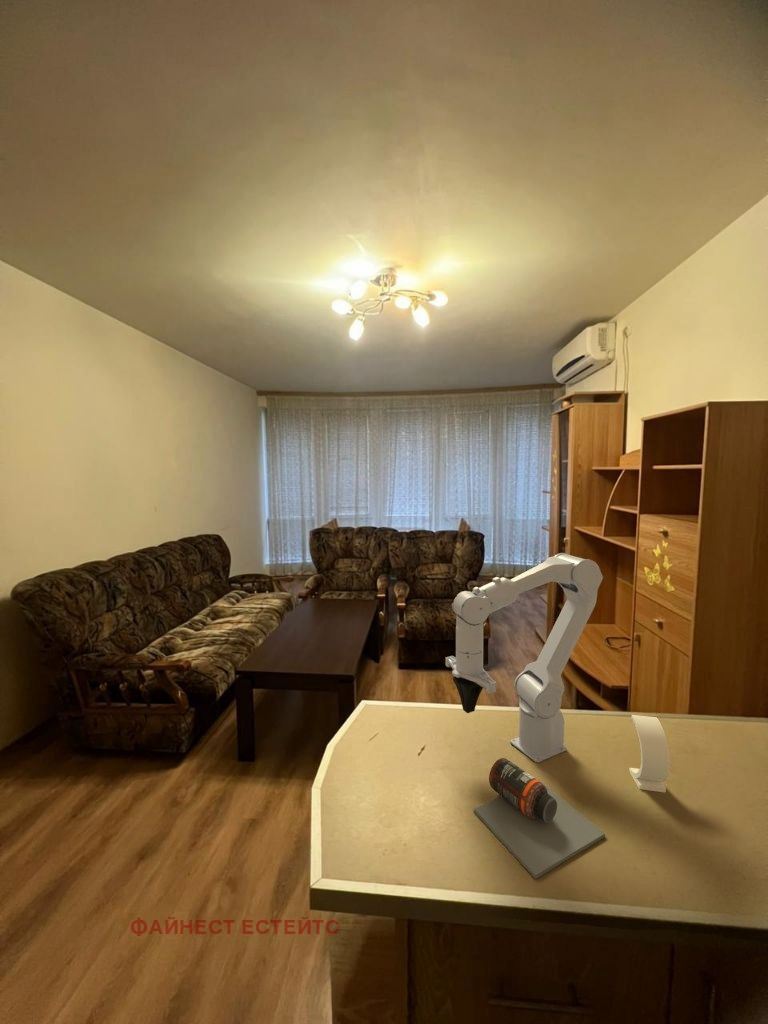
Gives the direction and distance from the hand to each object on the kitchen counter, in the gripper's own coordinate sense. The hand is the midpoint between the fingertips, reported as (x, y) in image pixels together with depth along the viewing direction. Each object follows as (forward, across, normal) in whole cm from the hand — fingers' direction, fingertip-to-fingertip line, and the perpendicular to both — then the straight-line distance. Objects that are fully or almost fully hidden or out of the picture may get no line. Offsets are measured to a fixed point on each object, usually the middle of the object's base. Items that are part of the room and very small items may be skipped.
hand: (468, 710), depth 87 cm
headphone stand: (+10, +23, +26) cm, 36 cm away
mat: (+10, +20, -1) cm, 22 cm away
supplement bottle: (+7, +10, -2) cm, 12 cm away
